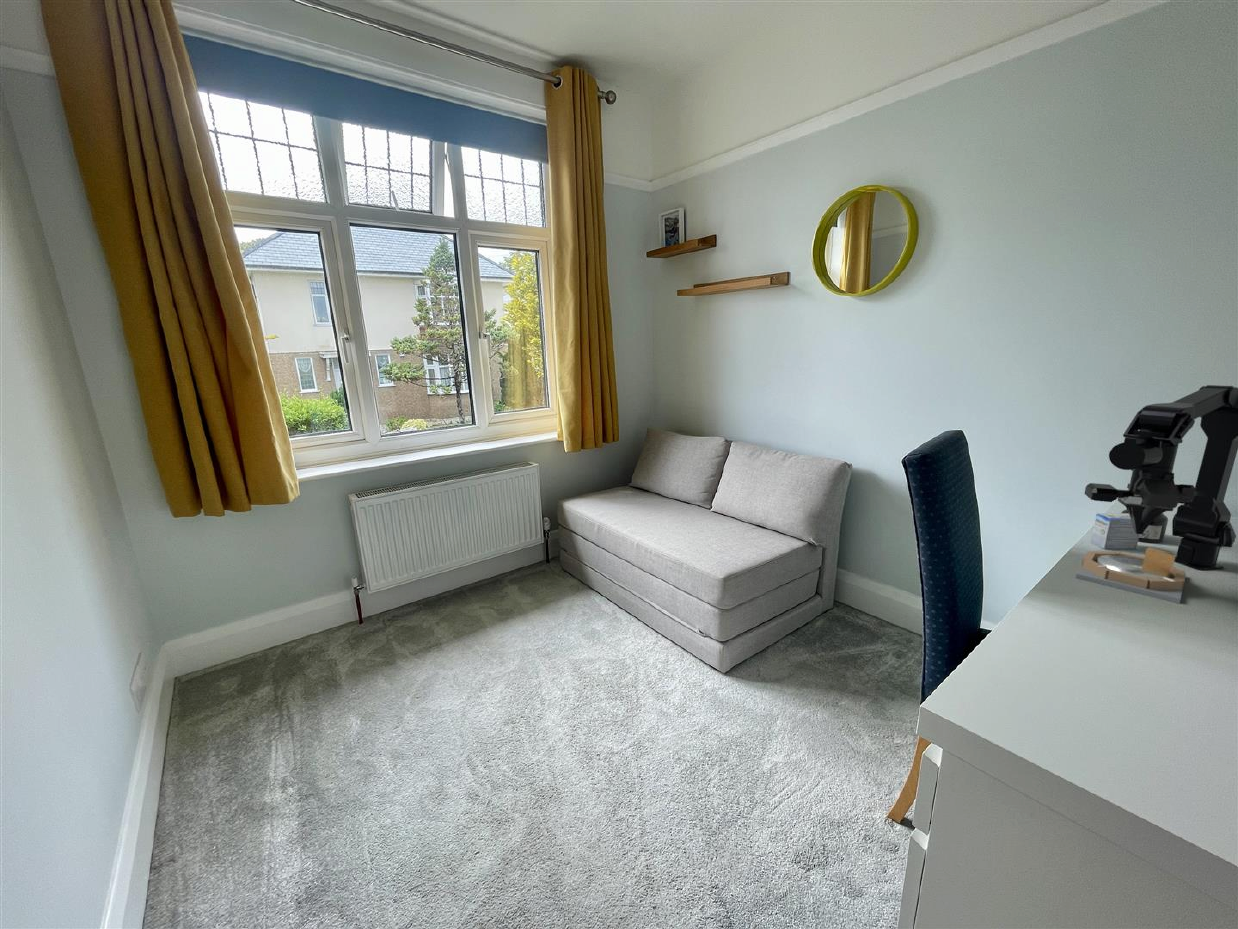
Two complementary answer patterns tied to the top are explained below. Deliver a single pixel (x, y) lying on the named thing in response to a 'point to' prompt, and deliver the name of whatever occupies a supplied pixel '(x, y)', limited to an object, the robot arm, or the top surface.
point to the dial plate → (1132, 578)
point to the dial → (1141, 564)
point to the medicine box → (1114, 531)
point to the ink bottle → (1154, 529)
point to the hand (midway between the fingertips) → (1138, 533)
